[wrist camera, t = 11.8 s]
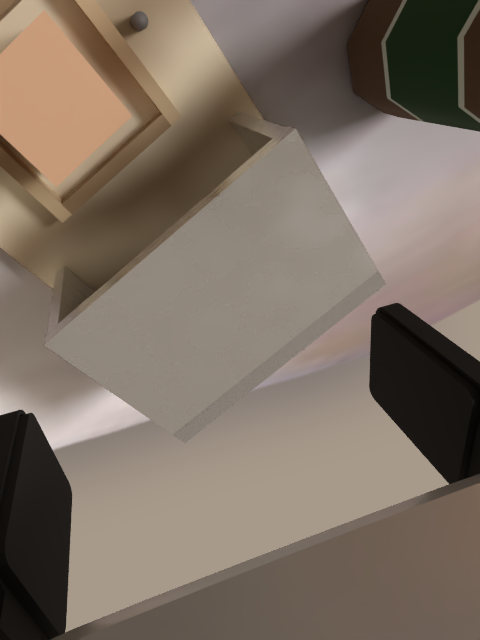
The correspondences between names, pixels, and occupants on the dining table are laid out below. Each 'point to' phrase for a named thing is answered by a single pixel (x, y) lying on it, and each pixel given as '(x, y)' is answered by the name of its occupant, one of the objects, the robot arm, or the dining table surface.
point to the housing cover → (220, 290)
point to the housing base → (125, 137)
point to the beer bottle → (419, 60)
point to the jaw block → (54, 101)
